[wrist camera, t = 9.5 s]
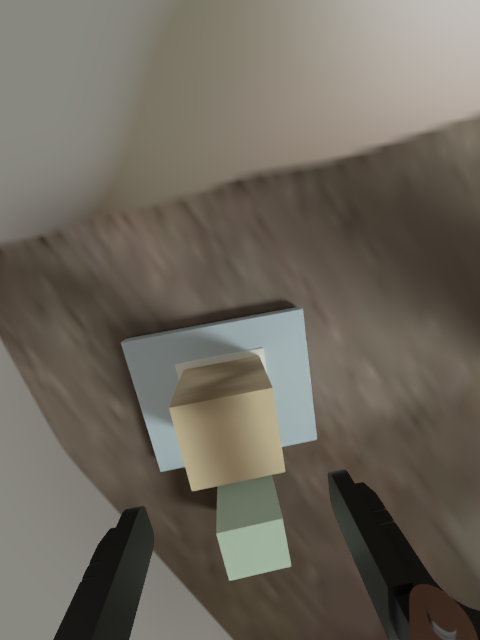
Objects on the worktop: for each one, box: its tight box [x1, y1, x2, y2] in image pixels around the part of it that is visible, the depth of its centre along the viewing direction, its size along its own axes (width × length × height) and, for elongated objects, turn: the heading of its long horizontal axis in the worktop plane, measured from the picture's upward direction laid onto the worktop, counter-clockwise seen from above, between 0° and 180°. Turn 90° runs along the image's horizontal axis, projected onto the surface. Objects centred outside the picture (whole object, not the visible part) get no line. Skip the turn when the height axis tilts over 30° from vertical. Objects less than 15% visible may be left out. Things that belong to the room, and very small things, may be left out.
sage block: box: [216, 475, 291, 581], centre depth 20 cm, size 5×5×5 cm
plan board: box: [121, 307, 317, 472], centre depth 19 cm, size 14×12×1 cm
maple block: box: [169, 356, 285, 491], centre depth 16 cm, size 6×6×5 cm
